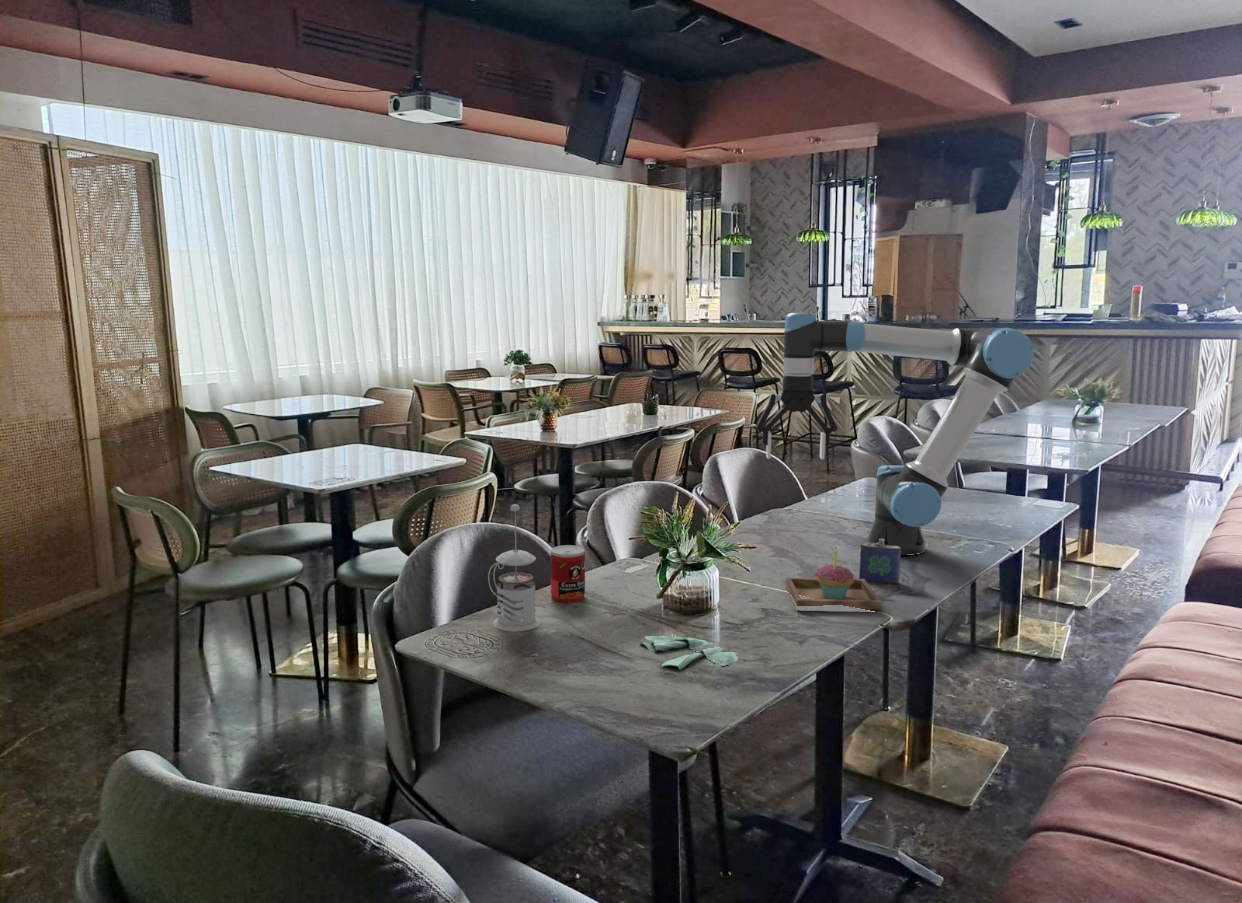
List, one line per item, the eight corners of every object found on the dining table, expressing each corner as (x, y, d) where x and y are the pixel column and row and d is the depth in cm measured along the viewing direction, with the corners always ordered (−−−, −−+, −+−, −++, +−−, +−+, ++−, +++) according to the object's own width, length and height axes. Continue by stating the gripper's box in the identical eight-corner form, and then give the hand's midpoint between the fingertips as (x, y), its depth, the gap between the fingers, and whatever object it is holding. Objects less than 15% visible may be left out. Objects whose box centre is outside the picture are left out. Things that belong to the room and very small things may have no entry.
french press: (520, 635, 172) (518, 511, 168) (475, 623, 178) (473, 504, 174) (550, 620, 181) (549, 502, 177) (506, 610, 187) (504, 496, 183)
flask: (898, 582, 208) (901, 538, 206) (899, 585, 205) (901, 541, 203) (858, 578, 210) (860, 535, 208) (858, 582, 207) (860, 538, 206)
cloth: (757, 668, 159) (757, 655, 158) (648, 687, 150) (648, 674, 150) (704, 630, 177) (704, 619, 177) (604, 646, 169) (604, 634, 168)
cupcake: (854, 604, 189) (857, 550, 187) (814, 601, 191) (816, 548, 189) (851, 591, 197) (854, 540, 196) (813, 589, 199) (815, 538, 197)
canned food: (559, 604, 190) (559, 556, 188) (545, 594, 197) (544, 547, 195) (591, 599, 194) (591, 551, 192) (576, 589, 201) (575, 543, 199)
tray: (863, 589, 202) (864, 579, 201) (881, 613, 186) (882, 601, 186) (785, 588, 202) (786, 577, 202) (796, 611, 187) (797, 600, 186)
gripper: (845, 374, 222) (841, 456, 225) (746, 373, 222) (744, 455, 226) (851, 376, 214) (847, 461, 218) (750, 375, 215) (747, 460, 218)
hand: (795, 458), depth 222 cm, fingers open, 13 cm apart
